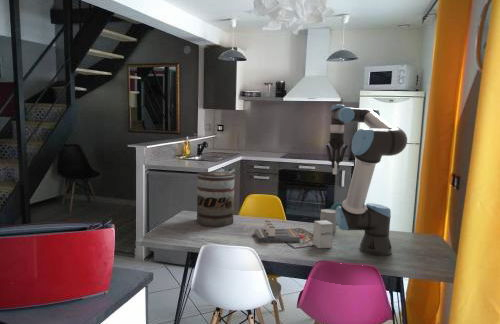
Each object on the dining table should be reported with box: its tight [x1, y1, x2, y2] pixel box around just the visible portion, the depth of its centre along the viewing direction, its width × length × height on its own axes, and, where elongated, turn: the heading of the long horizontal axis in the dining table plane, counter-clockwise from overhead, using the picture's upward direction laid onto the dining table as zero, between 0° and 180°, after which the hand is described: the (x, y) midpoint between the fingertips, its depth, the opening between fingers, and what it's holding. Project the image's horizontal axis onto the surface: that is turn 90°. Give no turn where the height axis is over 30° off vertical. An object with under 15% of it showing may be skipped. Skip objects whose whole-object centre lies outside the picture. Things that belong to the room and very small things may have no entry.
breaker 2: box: [268, 225, 276, 236], centre depth 192 cm, size 3×3×5 cm
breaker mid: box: [266, 222, 274, 233], centre depth 198 cm, size 3×3×5 cm
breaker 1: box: [263, 220, 272, 230], centre depth 203 cm, size 3×3×5 cm
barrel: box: [196, 171, 236, 228], centre depth 225 cm, size 22×22×30 cm
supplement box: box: [312, 220, 333, 249], centre depth 187 cm, size 7×7×13 cm
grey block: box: [319, 208, 337, 235], centre depth 213 cm, size 10×10×12 cm
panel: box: [254, 228, 301, 243], centre depth 199 cm, size 15×22×3 cm
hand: (334, 174), depth 207 cm, fingers closed
